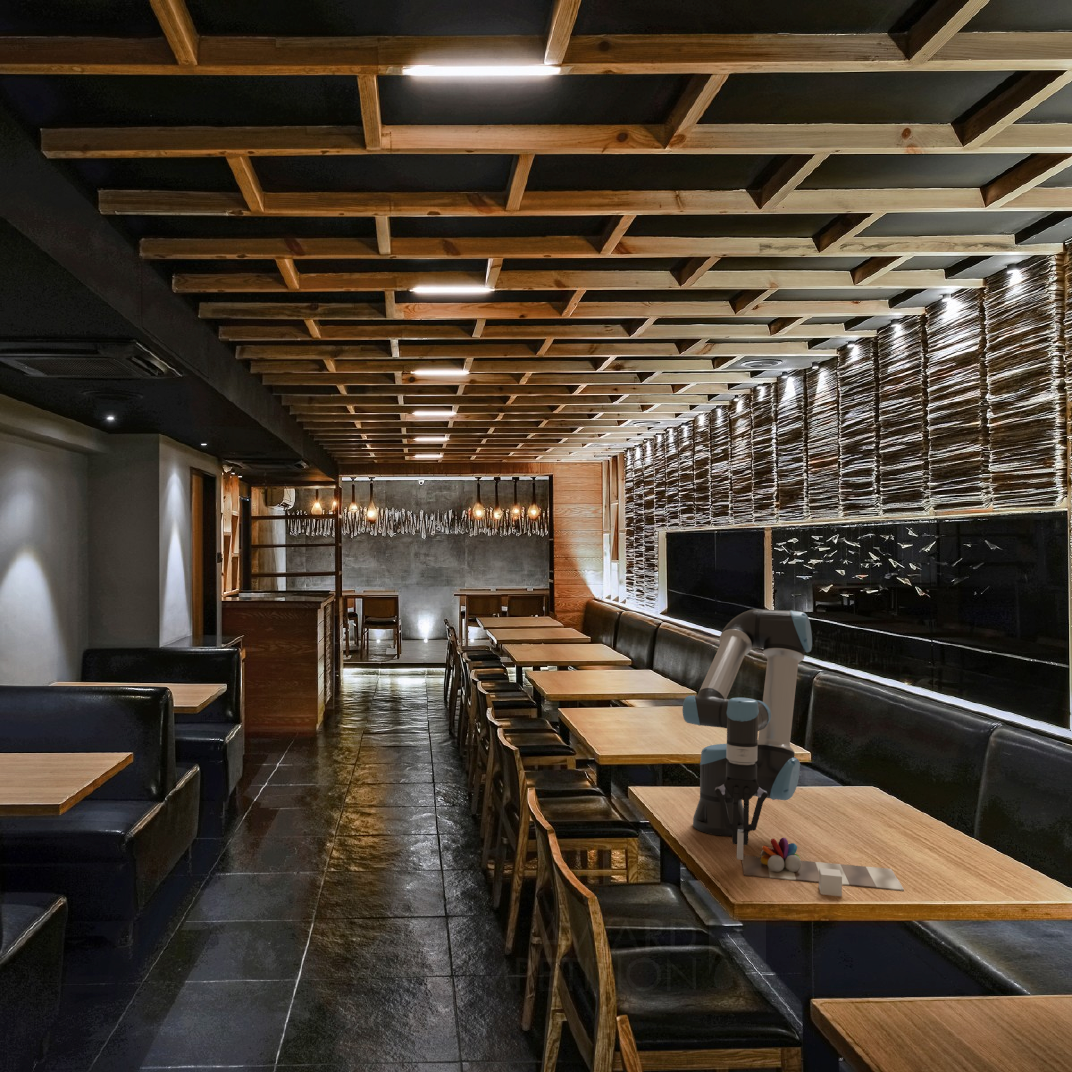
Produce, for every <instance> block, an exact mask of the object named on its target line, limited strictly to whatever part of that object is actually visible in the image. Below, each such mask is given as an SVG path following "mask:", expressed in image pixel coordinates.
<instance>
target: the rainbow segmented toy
mask: <svg viewBox="0 0 1072 1072" xmlns="http://www.w3.org/2000/svg"><path fill="white" fill-rule="evenodd" d="M770 844H771V847H769V846H767V845H763V846H762V847H761V849H762V850H761V851H760V857H761V862H762V863H763V864H765V865H768V867H769V869H770V870H772V871H774V872H780V871H781V870H782V869H783V868H784V864H785V867H786V868H787V870H789V871H791V872H796V871H798V870H799V869H800V868H801V861H802V860H801V856H799V855H798V854H797V850H798V845H797V844H796V843H794V842H793V843H789V841H788V840H787V838H786V837H781V838H780V839H779V841H778V842H777V840H776V839H775V838H771V839H770Z"/></svg>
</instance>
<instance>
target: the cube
mask: <svg viewBox="0 0 1072 1072" xmlns="http://www.w3.org/2000/svg"><path fill="white" fill-rule="evenodd" d="M818 889H819V893H820V895H824V896H825V895H826V896H833V897H843V885H842V875H841V872H840V870H836V869H826V868H819V883H818Z"/></svg>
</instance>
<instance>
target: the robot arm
mask: <svg viewBox="0 0 1072 1072" xmlns="http://www.w3.org/2000/svg"><path fill="white" fill-rule="evenodd" d="M721 631H722V632H721V633H720V636H719V639H718V640H719V647H718V648H717V651H716V654H715V655H714V658H713V659H712V662H711V663H710V666H709V668H708V670H707V673H706V675H705V677H704V680H703V682H702V684H701V686H700V689H699V691H698V693H697V695H696V694H693V695H687V696H686V697H685V698H684V700H683V702H682V703H683V704H682V717H683V720H684V722H686V723H688V724H691V725H695V726H702V727H710V728H711V727H712V728H723V729H726V743H716V744H711V745H710V744H709V745H707V746H705V747H703V748H702V750H701V753H700V754H701V755H700V762H699V766H700V768H699V769H700V770H699V771H700V772H699V774H700V775H699V776H700V777H699V778H700V779H699V783H700V784H699V800H698V802H697V806H696V808H695V812H694V815H693V818H692V826H693V828H694V829H695V830H697V831H700V832H702V833H704V834H709V835H713V836H714V835H715V836H724V837H732V840H731V841H732V844H733V845H736V860H741V861H742V860H743V855H744V846H748V844H749V834H750V832H752V831H756V830H757V828H758V827H757V826H758V823H759V819H760V816H761V812H762V808H763V803H764V802H765V800H766V799H771V800H772V801H775V800H776V801H777V800H779V801H788V800H790V799H791V798H792V797H793V796H794V794H795V793H796V789H797V786H798V783H799V778H800V770H801V763H800V760H799V758H797V757H795V754H796V753H795V751H794V749H793V748H792V747H791V745H790V744H791V736H792V727H793V717H794V707H795V697H796V696H795V695H796V690H797V689H796V686H797V678H798V671H799V670H798V669H799V663H800V662H802V661H803V660H804V659H805V655H806V654H805V653H810V652H811V651H812V649H813V648H812V647H813V635H812V626H811V622H810V618H809V616H808V615H807V614H806V612H803V611H797V610H792V609H791V610H779V609H778V610H776V609H760V608H755V609H749V610H747V611H744V612H742V613H740V614H737V615H736V616H735V617H734V618H732V619H731V620H730V621H729V622H728V623H727V624H726V625H725V627H724V628H723V629H722V630H721ZM752 649H762V654H763V656H765V658H766V659H767V660H766V661H767V662H766V669H765V678H764V679H765V680H764V688H763V696H762V700H758V699H755V698H748V697H732V698H730V699H728V696H729V693H730V691H731V689H732V687H733V684H734V682H735V680H736V677H737V674H738V672H739V669H740V668H741V665H742V663H743V660H744V658H745V656H746V655H748V654H749V653H750V652H751V650H752ZM753 797H757V800H756V804H755V807H754V811H753V816H752V818H751V822H749V821H750V814H749V813H750V800H751V799H752V798H753Z"/></svg>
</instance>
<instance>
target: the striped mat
mask: <svg viewBox="0 0 1072 1072" xmlns="http://www.w3.org/2000/svg"><path fill="white" fill-rule="evenodd" d="M741 861H742V862H741V863H742V871H743V876H744V877H745V876H746V877H754V878H766V879H767V878H768V879H775V880H776V879H777V880H786V881H798V882H808V883H809V882H810V883H816V884H817V883H818V884H819V868H826V869H836V870H840V872H841V875H842V886H851V887H860V888H862V887H863V888H871V889H881V890H882V889H883V890H891V891H901V892H904V891H905V888H904V887H903V885H902V883H901V882H900V880H899V879H898V877H897V876H896V874H895V872H894V871H893V869H892V868H887V867H886V868H885V867H875V866H865V865H855V864H854V865H852V864H845V863H844V864H842V863H841V864H840V863H833V862H832V863H830V862H820V861H812V860H811V861H809V860H801V868H800V869H799V870H798V871H796V872H791V871H789V870H787V868H786V867H785V864H784V868H783V869H782V870H781V871H780V872H774V871H772V870H770V869H769V867H768V865H765V864H763V863H762V862H761V856H756V855H755V856H754V855H753V856H752V855H746V854H745V855H744V854H743V860H741Z"/></svg>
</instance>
